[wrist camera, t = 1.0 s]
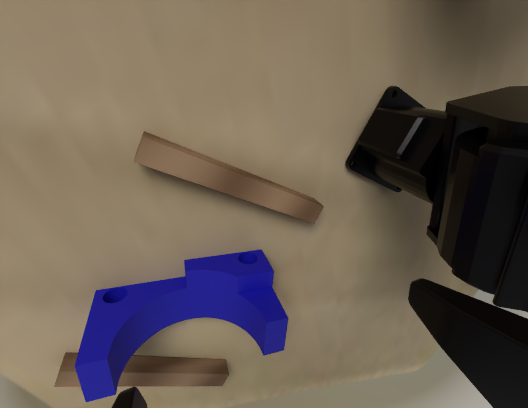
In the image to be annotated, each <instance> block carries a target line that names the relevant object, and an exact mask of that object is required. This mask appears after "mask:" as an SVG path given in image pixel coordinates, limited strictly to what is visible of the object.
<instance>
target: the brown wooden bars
mask: <svg viewBox="0 0 528 408" xmlns="http://www.w3.org/2000/svg"><path fill="white" fill-rule="evenodd" d="M134 162H135V163H138V164H141V165H144V166H147V167H150V168H153V169H156V170H159V171H162V172H164V173H167V174H170V175H173V176H176V177H179V178H182V179H185V180H188V181H191V182H194V183H197V184H200V185H203V186H205V187H208V188H211V189H214V190H217V191H220V192H223V193H226V194H229V195H232V196H235V197H238V198H241V199H244V200H246V201H249V202H252V203H255V204H258V205H261V206H264V207H267V208H270V209H273V210H276V211H279V212H282V213H285V214H287V215H290V216H293V217H296V218H299V219H302V220H305V221H308V222H311V223H315V221H316V220H317V218H318V216H319V214H320V213H321V211H322V209H323V207H324V206H323V205H321V204H320V203H319V202H318V201H317V200H315V199H314V198H311V197H309V196H306V195H304V194H301V193H299V192H296V191H294V190H291V189H289V188H286V187H284V186H281V185H279V184H276V183H273V182H271V181H268V180H266V179H263V178H261V177H258V176H256V175H253V174H251V173H248V172H246V171H243V170H241V169H238V168H235V167H233V166H230V165H228V164H225V163H223V162H220V161H218V160H215V159H213V158H210V157H208V156H205V155H203V154H200V153H198V152H195V151H192V150H190V149H187V148H185V147H182V146H180V145H177V144H175V143H172V142H170V141H167V140H165V139H162V138H160V137H157V136H154V135H152V134H149V133H147V132H144V133H143V135H142V138H141V141H140V144H139V147H138V150H137V152H136V155H135V159H134ZM77 356H78V353H65V356H64V359H63V362H62V365H61V367H60V370H59V373H58V377H57V380H56V383H55V386H54V387H81V385H80V382H79V379H78V376H77V373H76V369H75V363H76V359H77ZM228 375H229V373H228V368H227V364H226V360H223V359H200V358H177V357H154V356H131V358H130V359H129V361H128V362H127V364H126V366H125V368H124V370H123V372H122V374H121V377H120V379H119V383H118V386H223V384H224V382H225V380H226V379H227V377H228Z"/></svg>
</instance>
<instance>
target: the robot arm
mask: <svg viewBox="0 0 528 408" xmlns="http://www.w3.org/2000/svg"><path fill="white" fill-rule="evenodd" d="M392 92H393V95H392V96H391V94H392ZM353 161H354V164H353V165H351V164H352V162H353ZM346 167H347V168H349V169H351V170H353V171H355V172H357V173H359V174H361V175H363V176H365V177H367V178H369V179H371V180H373V181H375V182H377V183H379V184H381V185H383V186H385V187H387V188H389V189H391V190H393V191H395V192H400V191H402V189H403V190H405V191H407V192H409V193H411V194H413V195H415V196H417V197H419V198H421V199H423V200H425V201H427V202H429V203H431V204H433V206H432V212H431V218H430V225H429V226H428V227H427V235H428V236H429V237H430V239H431V240H432V241H433V242H434V243H435V244H436V246H437V248H438V251H439V254H440V256H441V257H442V258H443V259H444V260H445V261H446V262H447V263H448V265H449V266H450V267H451V268H452V273H453V274H454V275H455V276H456V277H458V278H459V279H461V280H463V281H464V282H466V283H467V284H469V285H471V286H473V287H475V288H478V289H480V290H482V291H484V292H487V293H490V294H494V298H493V304H494V305H496V306H499V307H504V308H510V309H516V310H522V311H526V312H528V86H511V87H505V88H501V89H497V90H493V91H489V92H485V93H481V94H477V95H473V96H469V97H465V98H461V99H457V100H453V101H448V102H447V104H446V111H438V110H432V109H426V108H425V107H423V106H422V105H421V104H420V103H418V102H417V101H416V100H414V99H413V98H412V97H410V96H409V95H408V94H407V93H405V92H404V91H403V90H401V89H400V88H399V87H397V86H390V87H388V88H387V89H386V91H385V93H384V95H383V96H382V98H381V100H380V102H379V103H378V105H377V107H376V109H375V111H374V112H373V114H372V116H371V118H370V119H369V121H368V123H367V125H366V127H365V128H364V130H363V132H362V134H361V135H360V137H359V139H358V141H357V142H356V144H355V146H354V148H353V150H352V151H351V153H350V155H349V157H348V158H347V160H346ZM408 300H409V303H410V305H411V307H412V308H413V310H414V311H415V312H416V314H417V315H418V317H419V318H420V319H421V321H422V322H423V323H424V325H425V326H426V328H427V329H428V330H429V332H430V333H431V335H432V336H433V337H434V339H435V340H436V341H437V343H438V344H439V345H440V346H441V348H442V349H443V350H444V351H445V353H446V354H447V355H448V356H449V357H450V358H451V360H452V361H453V362H454V363H455V364H456V365H457V366H458V368H459V369H460V370H461V371H462V372H463V373H464V374H465V376H466V377H467V378H468V379H469V380H470V381H471V383H472V384H473V385H474V386H475V387H476V388H477V389H478V391H479V392H480V393H481V394H482V395H483V396H484V398H485V399H486V400H487V401H488V402H489V403H490V404H491V406H492V407H493V408H528V319H527V318H524V317H522V316H519V315H517V314H514V313H511V312H509V311H506V310H504V309H501V308H498V307H496V306H493V305H491V304H488V303H486V302H483V301H481V300H478V299H475V298H473V297H470V296H468V295H465V294H463V293H460V292H457V291H455V290H452V289H450V288H447V287H445V286H442V285H439V284H437V283H434V282H432V281H429V280H426V279H422V278H421V279H418V280H415V281H413V282H411V284H410V289H409V296H408ZM112 408H147V404H146V401H145V400H144V398H143V396H142V395H141V393H140V391H139V390H138V388H136V387H132V388H130V389H127V390H124V391H122V392H121V393H120V394H119V395H118V397H117V398H116V400H115V402H114V404H113V406H112Z"/></svg>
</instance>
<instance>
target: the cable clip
mask: <svg viewBox="0 0 528 408" xmlns="http://www.w3.org/2000/svg"><path fill="white" fill-rule="evenodd" d="M184 262H185V277H179V278H173V279H166V280H160V281H153V282H147V283H141V284H134V285H128V286H121V287H115V288H109V289H102V290H96V292H95V295H94V299H93V303H92V306H91V310H90V313H89V317H88V320H87V324H86V327H85V331H84V334H83V338H82V341H81V345H80V349H79V352H78V356H77V359H76V363H75V369H76V373H77V376H78V379H79V382H80V385H81V388H82V391H83V394H84V397H85V401H86V402H89V401H93V400H97V399H100V398H104V397H108V396H112V395H115V394H116V391H117V386H118V383H119V379H120V377H121V374H122V372H123V370H124V368H125V366H126V364H127V362H128V361H129V359H130V358H131V356H132V355H133V354H134V353H135V351H136V350H137V349H138V348H139V347H140V346H141V345H142V344H143V343H144V342H145V341H146V340H147V339H148V338H150V337H151V336H152V335H154V334H155V333H157V332H158V331H160V330H162V329H163V328H165V327H167V326H169V325H171V324H174V323H177V322H179V321H183V320H187V319H192V318H201V317H209V318H218V319H222V320H226V321H229V322H231V323H234V324H236V325H238V326H239V327H241V328H242V329H244V330H245V331H246V332H248V333H249V334H250V335H251V336H252V337H253V338H254V340H255V341H256V342H257V344H258V345H259V347H260V349H261V351H262V353H263V355H267V354H271V353H275V352H279V351H283V350H284V346H285V338H286V331H287V323H288V317H287V315H286V313H285V311H284V309H283V307H282V305H281V303H280V301H279V300H278V298H277V296H276V294H275V292H274V290H273V288H272V285H273V274H274V271H273V269H272V267H271V265H270V264H269V262H268V260H267V258H266V257H265V255H264V253H263V251H262V250H255V251H247V252H240V253H233V254H226V255H218V256H211V257H204V258H197V259H189V260H184Z"/></svg>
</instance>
